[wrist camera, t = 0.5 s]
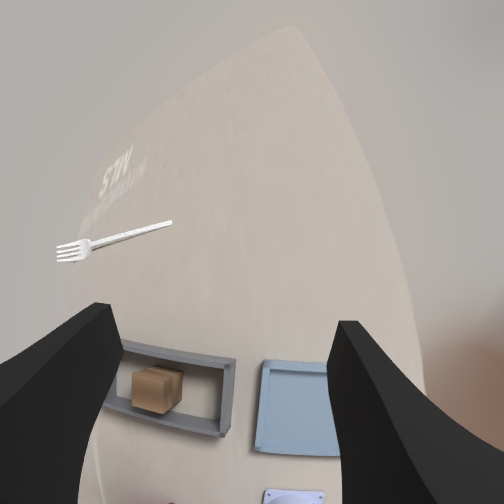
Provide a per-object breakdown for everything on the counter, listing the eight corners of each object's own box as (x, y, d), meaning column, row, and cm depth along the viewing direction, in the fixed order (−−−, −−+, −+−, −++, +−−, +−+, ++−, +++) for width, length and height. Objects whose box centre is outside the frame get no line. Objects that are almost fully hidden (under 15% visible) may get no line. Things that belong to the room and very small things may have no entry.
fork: (176, 235, 39) (171, 231, 37) (64, 266, 40) (56, 264, 38) (173, 212, 39) (168, 208, 38) (63, 246, 41) (56, 243, 39)
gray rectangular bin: (230, 426, 33) (224, 437, 29) (112, 398, 35) (99, 404, 32) (236, 359, 34) (230, 364, 31) (113, 337, 37) (99, 339, 33)
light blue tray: (349, 450, 30) (351, 455, 28) (255, 445, 32) (254, 450, 30) (364, 364, 32) (367, 366, 30) (264, 358, 34) (263, 361, 32)
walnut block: (181, 399, 34) (162, 414, 28) (153, 393, 35) (131, 405, 29) (182, 371, 35) (163, 381, 29) (154, 365, 35) (132, 373, 29)
